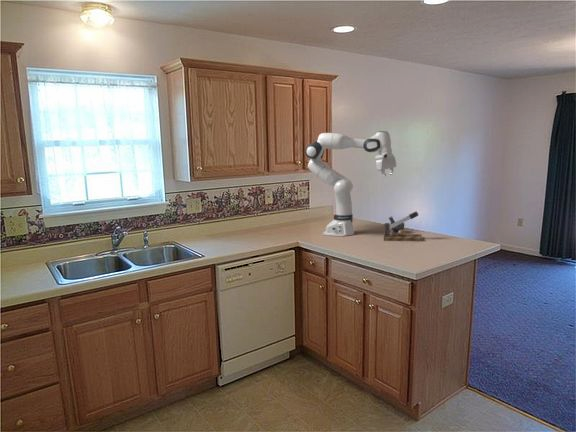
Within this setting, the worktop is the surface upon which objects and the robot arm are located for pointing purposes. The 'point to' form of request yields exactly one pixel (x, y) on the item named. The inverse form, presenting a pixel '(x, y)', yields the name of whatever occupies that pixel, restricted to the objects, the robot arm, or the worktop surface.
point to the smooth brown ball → (401, 232)
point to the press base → (400, 238)
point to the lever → (404, 219)
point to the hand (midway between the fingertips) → (388, 175)
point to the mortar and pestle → (396, 228)
